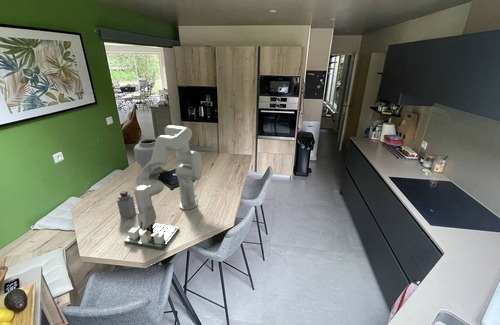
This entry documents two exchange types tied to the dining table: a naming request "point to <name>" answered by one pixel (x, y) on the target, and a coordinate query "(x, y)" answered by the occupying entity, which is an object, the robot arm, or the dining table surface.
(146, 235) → the block
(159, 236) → the breaker high
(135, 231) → the block
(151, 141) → the ceramic vase
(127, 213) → the perfume bottle
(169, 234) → the panel
